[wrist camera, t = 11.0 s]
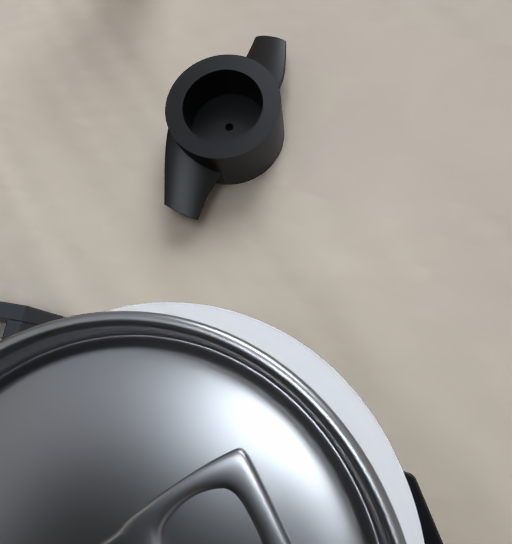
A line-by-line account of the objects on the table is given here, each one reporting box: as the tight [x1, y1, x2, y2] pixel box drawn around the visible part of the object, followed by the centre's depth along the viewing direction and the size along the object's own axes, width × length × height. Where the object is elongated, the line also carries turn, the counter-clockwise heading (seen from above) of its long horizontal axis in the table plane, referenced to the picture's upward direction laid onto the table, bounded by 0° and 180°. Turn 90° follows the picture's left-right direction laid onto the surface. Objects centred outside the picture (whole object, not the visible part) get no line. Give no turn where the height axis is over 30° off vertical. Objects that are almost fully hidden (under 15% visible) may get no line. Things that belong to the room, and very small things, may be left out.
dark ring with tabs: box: [164, 36, 286, 220], centre depth 25 cm, size 8×10×3 cm
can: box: [0, 302, 425, 544], centre depth 10 cm, size 6×6×12 cm
